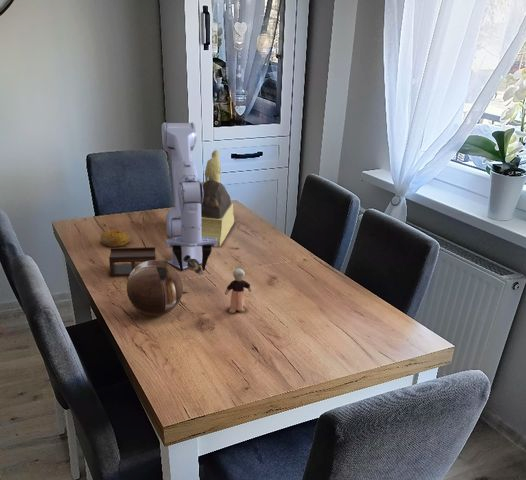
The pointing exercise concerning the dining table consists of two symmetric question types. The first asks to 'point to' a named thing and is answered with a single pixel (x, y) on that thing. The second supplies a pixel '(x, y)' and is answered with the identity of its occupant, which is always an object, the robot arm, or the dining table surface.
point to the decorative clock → (215, 203)
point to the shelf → (129, 259)
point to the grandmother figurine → (237, 291)
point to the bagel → (115, 238)
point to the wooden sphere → (154, 287)
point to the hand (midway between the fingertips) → (192, 269)
